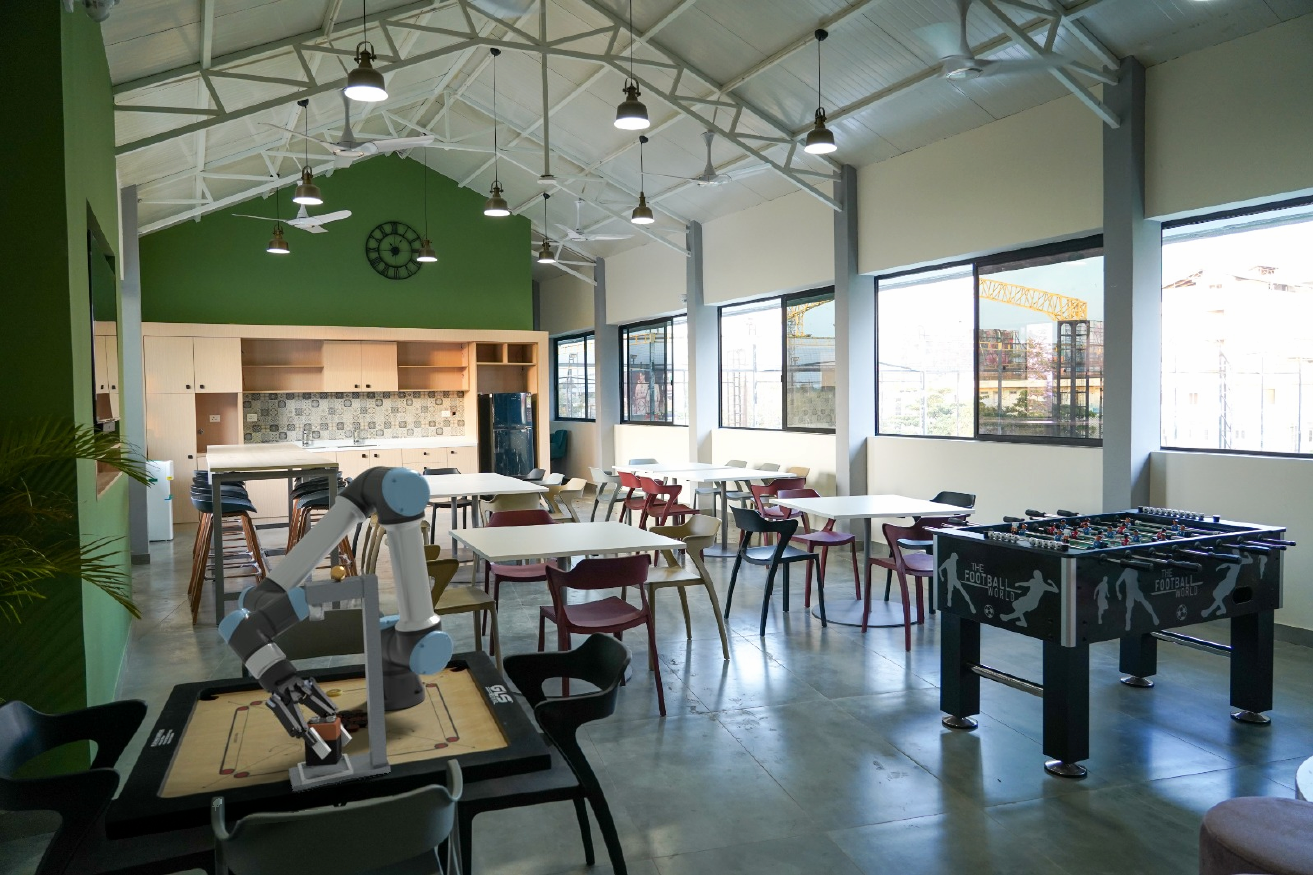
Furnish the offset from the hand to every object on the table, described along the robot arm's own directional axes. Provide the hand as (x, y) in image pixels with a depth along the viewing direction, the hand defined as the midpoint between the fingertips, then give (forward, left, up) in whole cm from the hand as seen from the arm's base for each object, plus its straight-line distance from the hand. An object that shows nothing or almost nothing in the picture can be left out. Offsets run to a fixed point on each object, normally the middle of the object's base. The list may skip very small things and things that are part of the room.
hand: (337, 748), depth 198 cm
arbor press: (-3, +1, -7) cm, 7 cm away
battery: (-3, -3, -4) cm, 5 cm away
